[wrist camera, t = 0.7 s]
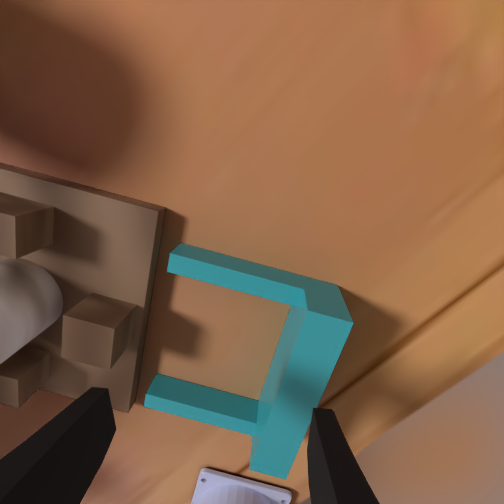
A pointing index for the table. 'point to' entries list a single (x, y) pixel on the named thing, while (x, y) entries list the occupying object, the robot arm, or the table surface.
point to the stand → (73, 287)
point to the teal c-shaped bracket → (283, 364)
